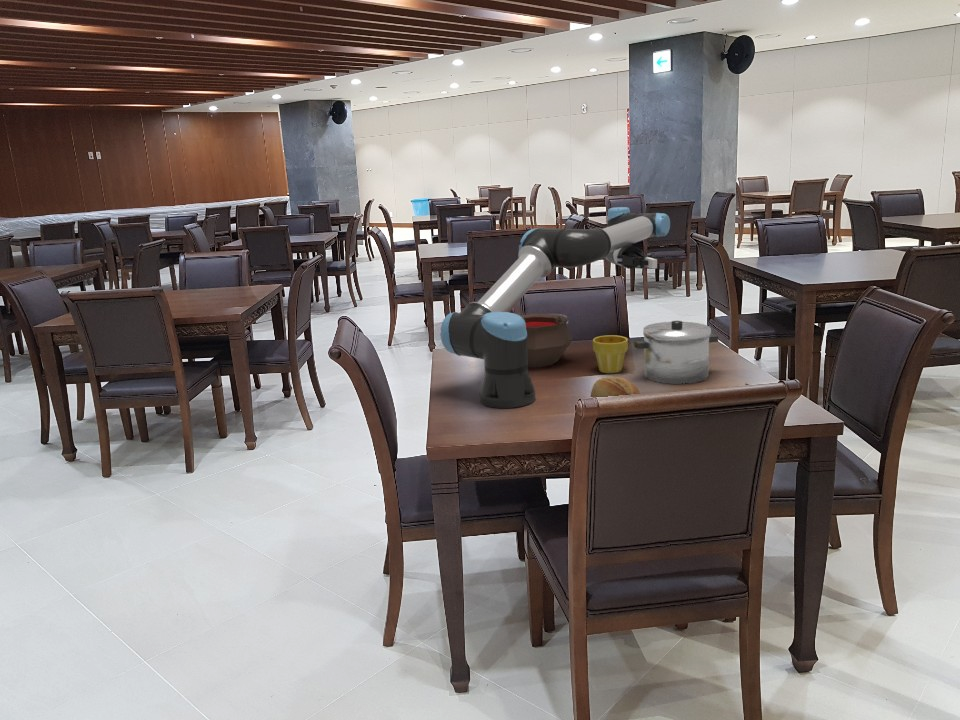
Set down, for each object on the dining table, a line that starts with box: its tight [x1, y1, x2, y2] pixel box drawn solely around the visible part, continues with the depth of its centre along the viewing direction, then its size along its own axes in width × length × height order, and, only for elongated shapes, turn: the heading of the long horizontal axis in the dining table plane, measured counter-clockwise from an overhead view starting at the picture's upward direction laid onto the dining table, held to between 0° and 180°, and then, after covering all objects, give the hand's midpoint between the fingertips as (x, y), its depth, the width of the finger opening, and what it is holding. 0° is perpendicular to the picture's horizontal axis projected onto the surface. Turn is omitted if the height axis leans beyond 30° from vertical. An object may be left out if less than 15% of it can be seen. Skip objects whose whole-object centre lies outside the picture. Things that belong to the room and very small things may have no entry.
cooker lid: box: [642, 320, 712, 342], centre depth 208 cm, size 19×19×4 cm
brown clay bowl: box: [509, 308, 574, 368], centre depth 233 cm, size 24×24×16 cm
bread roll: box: [590, 376, 641, 398], centre depth 186 cm, size 10×15×8 cm, turn 39°
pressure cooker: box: [633, 333, 719, 385], centre depth 211 cm, size 24×21×12 cm
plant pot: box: [592, 334, 629, 374], centre depth 219 cm, size 10×10×10 cm
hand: (654, 264), depth 221 cm, fingers closed
